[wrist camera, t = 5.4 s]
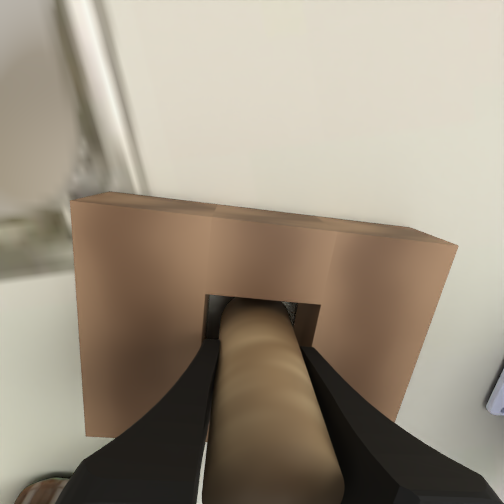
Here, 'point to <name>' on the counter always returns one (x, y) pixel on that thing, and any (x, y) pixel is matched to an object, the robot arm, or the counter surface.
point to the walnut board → (242, 294)
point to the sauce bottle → (42, 492)
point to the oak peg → (266, 416)
